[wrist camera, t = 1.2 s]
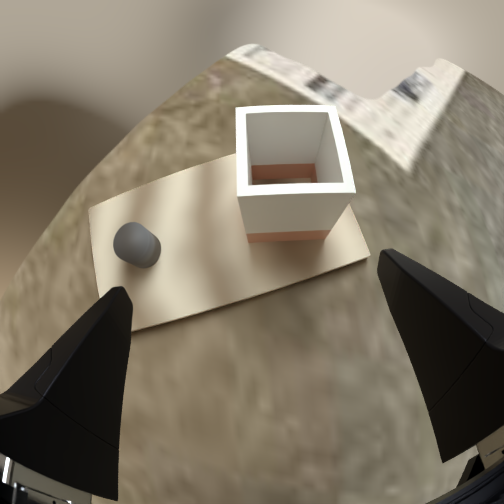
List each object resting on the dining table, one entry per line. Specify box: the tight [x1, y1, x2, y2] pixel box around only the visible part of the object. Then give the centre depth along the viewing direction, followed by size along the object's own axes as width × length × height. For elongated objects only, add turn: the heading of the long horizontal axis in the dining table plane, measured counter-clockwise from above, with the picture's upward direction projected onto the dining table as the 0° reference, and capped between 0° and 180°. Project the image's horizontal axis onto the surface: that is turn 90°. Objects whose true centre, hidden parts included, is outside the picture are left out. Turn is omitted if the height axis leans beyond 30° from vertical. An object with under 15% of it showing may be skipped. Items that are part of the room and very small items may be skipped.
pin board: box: [89, 153, 371, 332], centre depth 23 cm, size 24×13×4 cm, turn 108°
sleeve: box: [236, 105, 356, 243], centre depth 20 cm, size 6×6×9 cm
